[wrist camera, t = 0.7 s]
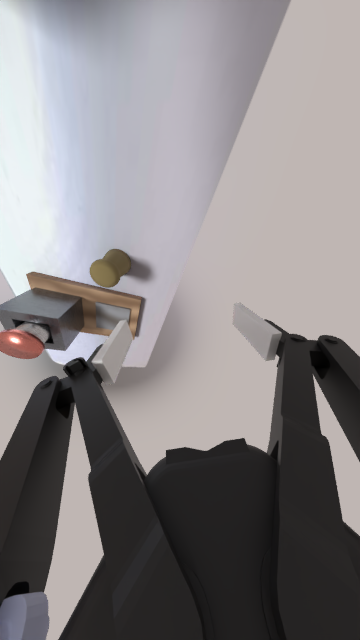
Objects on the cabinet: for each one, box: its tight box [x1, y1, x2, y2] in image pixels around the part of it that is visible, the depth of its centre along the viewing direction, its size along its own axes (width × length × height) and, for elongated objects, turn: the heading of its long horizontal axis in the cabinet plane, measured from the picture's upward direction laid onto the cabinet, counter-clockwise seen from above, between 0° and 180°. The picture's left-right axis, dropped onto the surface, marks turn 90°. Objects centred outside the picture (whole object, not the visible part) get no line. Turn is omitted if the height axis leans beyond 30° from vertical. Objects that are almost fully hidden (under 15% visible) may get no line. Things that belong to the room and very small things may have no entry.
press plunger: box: [0, 321, 52, 359], centre depth 29 cm, size 7×7×9 cm
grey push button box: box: [0, 287, 85, 351], centre depth 32 cm, size 10×10×10 cm
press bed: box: [26, 272, 142, 340], centre depth 39 cm, size 16×26×3 cm, turn 72°
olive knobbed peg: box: [90, 249, 131, 287], centre depth 29 cm, size 6×6×11 cm
